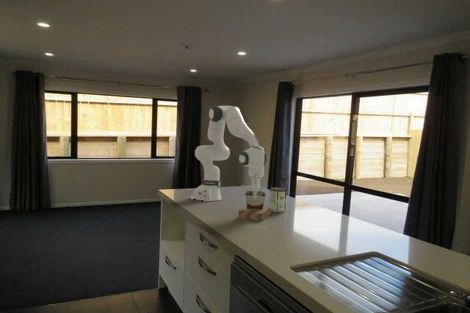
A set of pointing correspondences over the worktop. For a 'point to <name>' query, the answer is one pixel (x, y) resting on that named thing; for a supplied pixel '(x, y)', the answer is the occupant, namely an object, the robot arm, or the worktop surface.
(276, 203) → the coffee can
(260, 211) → the walnut block
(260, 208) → the food container
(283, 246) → the worktop surface
